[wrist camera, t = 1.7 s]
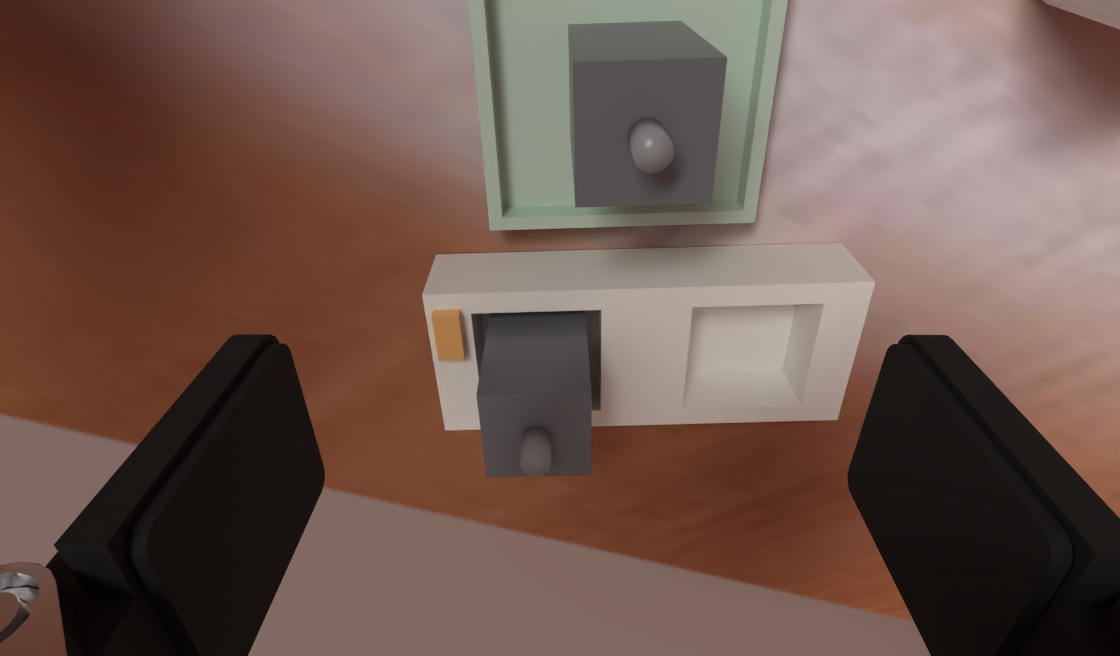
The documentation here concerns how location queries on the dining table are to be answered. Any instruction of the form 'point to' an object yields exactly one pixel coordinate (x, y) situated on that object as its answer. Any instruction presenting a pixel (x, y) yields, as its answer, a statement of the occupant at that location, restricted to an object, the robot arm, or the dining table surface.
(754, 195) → the tray
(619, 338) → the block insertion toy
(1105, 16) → the white cup
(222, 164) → the dining table surface
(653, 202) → the plug
